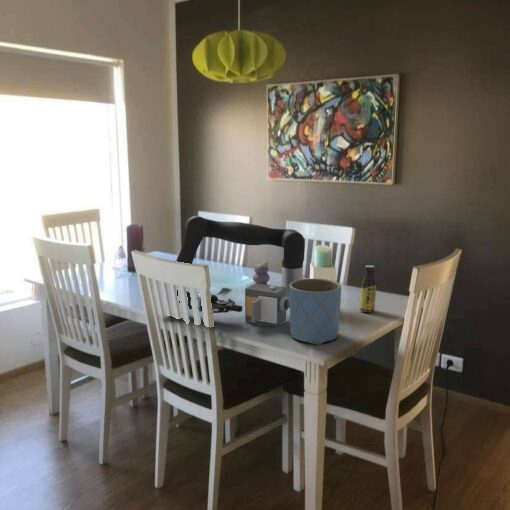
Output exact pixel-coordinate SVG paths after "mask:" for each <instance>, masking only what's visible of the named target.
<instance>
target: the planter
mask: <svg viewBox="0 0 510 510" xmlns="http://www.w3.org/2000/svg"><path fill="white" fill-rule="evenodd" d="M289 298H290V307H289V325H290V326H289V327H290V328H289V329H290V338H293V339H295V340H297V341H301V342H305V343H309V344H314V345H318V346H319V345H322V344H323V343H326V342H330V341H333V340H335V339H336V338H338V336H339V329H340V316H341V299H342V284H341V283H339V282H337V281H335V280H332V279H331V280H330V279H326V278H325V279H324V278H303V279H300V280H296V281H293V282H291V283H290V284H289Z"/></svg>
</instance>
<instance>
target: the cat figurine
mask: <svg viewBox="0 0 510 510" xmlns="http://www.w3.org/2000/svg"><path fill="white" fill-rule="evenodd" d="M268 263H269V262H268V261H267V262H265V263H262V262H261V263H257V264H256V263H252V265H253V266H254V269H253V270H254V274H253V276H252V280H253V282H254V283H257V284H264V285H269V284H268V282H269V281H270V275H269V273H268V272H269V270H270V269H269V266H268Z"/></svg>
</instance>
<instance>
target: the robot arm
mask: <svg viewBox="0 0 510 510" xmlns="http://www.w3.org/2000/svg"><path fill="white" fill-rule="evenodd" d="M184 224H185V225H184V229H185V235H184V239H183V244H182V246H181V249H180V251H179V253H178V255H177V258H176V260H175V262H176V261H178V262H184V263H190V264H192V265H193V262H194V259H195V257H196V254H197V251H198V248H199V246H200V244H201V242H202V241H203V239H204V238H213V239H219V240H221V241H222V240H223V241H225V242H228V243H233V244H239V245H244V246H245V245H247V246H264V245H269V246H274V247H275V246H276V247H279V248H283V258H282V260H281V287H286V297H288V298H289V284H290V283H291V282H293V281H296V280H300V279H304V277H303V275H304V274H303V273H304V272H303V271H304V267H303V266H304V261H305V252H306V251H305V250H306V249H305V247H306V246H305V245H306V242H305V237H304V236H303V234H301V233H300V232H298V231H297V230H295V229H293V228H291V229H289V228H271V227H267V226H263V225H258V224H255V223H247V222H241V221H237V222H236V221H219V220H213V219H208V218H205V217H202V216H199V215H193V216H191V217H189V218H188V219H187V220H186V221H185V223H184ZM185 292H186V293H187V297H188V306H189V309H188V310H192V305H191V297H190V293H189V292H190V291H185ZM196 293H197V300H198V309H199V311H198V312H200V313H201V312H202V306H201V297H200V293H201V292H196ZM209 294H210V293H209ZM210 295H211V303H212V310H213V313H212V314H220V313H221V314H222V313H225V314H226V313H229V312H238V313H241V312H243V306H242V305H239V304H236V301H234V300H233V299H231V298H228V299H227V300H224V299H221V298H220V299H219V298H218V296H217V295H216V294H210ZM177 296H178V290H177ZM179 303H180V301H179ZM289 308H290V298H289ZM202 313H203V312H202Z"/></svg>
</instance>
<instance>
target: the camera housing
mask: <svg viewBox="0 0 510 510" xmlns="http://www.w3.org/2000/svg"><path fill="white" fill-rule="evenodd" d="M258 296H263V297H270V298H277V324H275V323H269V322H263V321H256V322H255V324H256V325H260V324H261V325H260V326H265V325H267V326H268V327H271V326H273V327H272V328H278V327H280V326H281V325H282V324H284V323H285V322H286V321H287V311H289V309H290V307H289V298H288V297H286V287H282V286H278V285H271V284H268V285H264V284H257V283H256V282H254V284H251V285H249V286H248V287H246V288H244V306H245V307H244V308H245V309H244V311H245V314H244V315H245V317H244V322H245V323H248V322H250V323H249V324H253V323H252V322H251V302H253V301H255V300H257V299H258ZM284 321H285V322H284ZM283 322H284V323H283ZM281 323H282V324H281ZM280 324H281V325H280ZM267 326H266V327H267ZM277 326H278V327H277Z"/></svg>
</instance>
